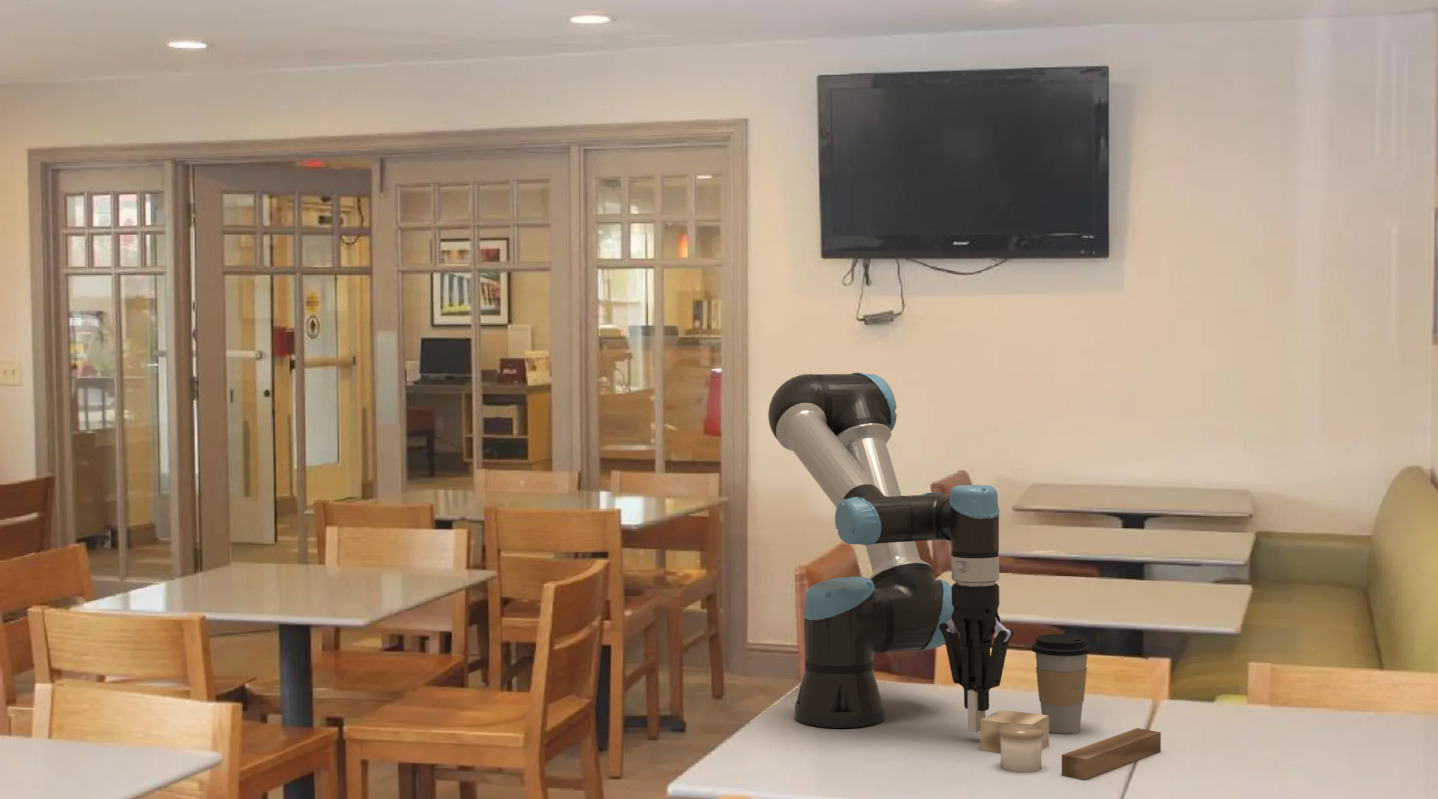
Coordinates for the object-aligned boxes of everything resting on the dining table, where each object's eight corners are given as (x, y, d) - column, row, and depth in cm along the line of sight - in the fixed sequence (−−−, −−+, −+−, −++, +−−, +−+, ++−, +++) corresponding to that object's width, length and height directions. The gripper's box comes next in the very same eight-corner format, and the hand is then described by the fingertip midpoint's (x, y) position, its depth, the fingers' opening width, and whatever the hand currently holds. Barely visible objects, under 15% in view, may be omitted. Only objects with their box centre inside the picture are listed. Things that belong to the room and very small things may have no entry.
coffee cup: (1091, 737, 259) (1091, 644, 258) (1031, 735, 261) (1031, 642, 260) (1089, 724, 268) (1089, 634, 268) (1031, 721, 270) (1031, 632, 270)
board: (1061, 775, 237) (1061, 754, 237) (1137, 747, 253) (1137, 728, 253) (1085, 780, 234) (1085, 759, 234) (1160, 751, 250) (1160, 732, 250)
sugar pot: (989, 767, 242) (989, 729, 241) (1014, 759, 246) (1014, 721, 246) (1027, 775, 237) (1027, 736, 237) (1052, 766, 242) (1052, 728, 242)
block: (980, 751, 252) (980, 719, 252) (1001, 740, 258) (1001, 709, 258) (1028, 758, 247) (1028, 726, 247) (1048, 747, 254) (1048, 715, 254)
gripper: (927, 581, 259) (929, 728, 259) (996, 588, 250) (997, 740, 250) (955, 576, 264) (957, 720, 265) (1023, 583, 255) (1024, 732, 256)
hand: (976, 730), depth 258 cm, fingers closed
